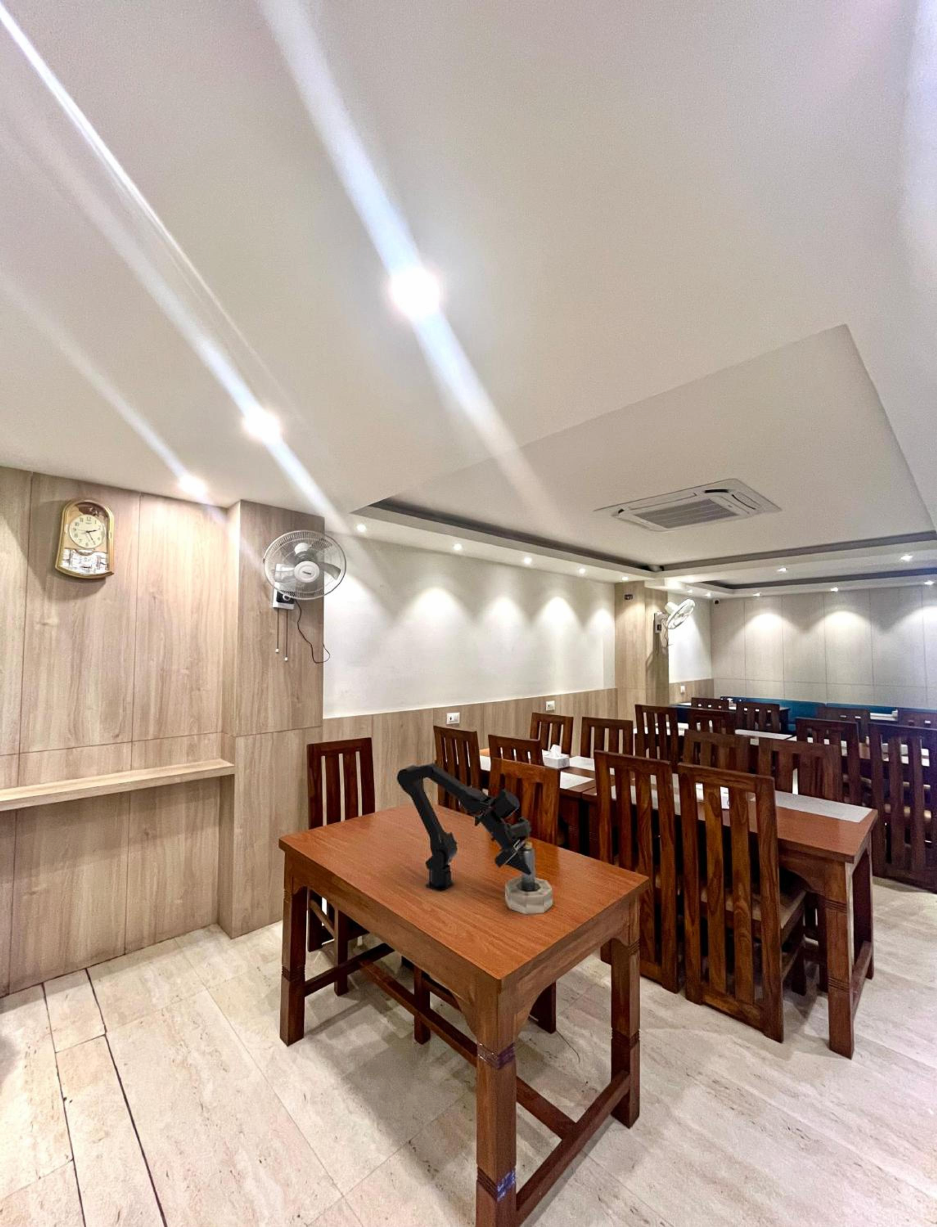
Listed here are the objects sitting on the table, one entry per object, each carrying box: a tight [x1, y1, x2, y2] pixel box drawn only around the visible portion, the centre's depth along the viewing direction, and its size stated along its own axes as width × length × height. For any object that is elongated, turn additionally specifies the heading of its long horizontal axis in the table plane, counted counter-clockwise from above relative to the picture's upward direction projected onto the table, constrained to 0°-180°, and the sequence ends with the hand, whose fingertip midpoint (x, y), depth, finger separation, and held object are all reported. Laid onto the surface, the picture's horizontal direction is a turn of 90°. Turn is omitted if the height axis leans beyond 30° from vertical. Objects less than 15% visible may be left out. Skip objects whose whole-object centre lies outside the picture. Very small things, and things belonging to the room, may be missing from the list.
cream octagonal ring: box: [504, 876, 553, 915], centre depth 149 cm, size 13×13×4 cm
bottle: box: [520, 841, 536, 892], centre depth 150 cm, size 4×4×15 cm
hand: (532, 871), depth 149 cm, fingers closed on bottle, 4 cm apart
